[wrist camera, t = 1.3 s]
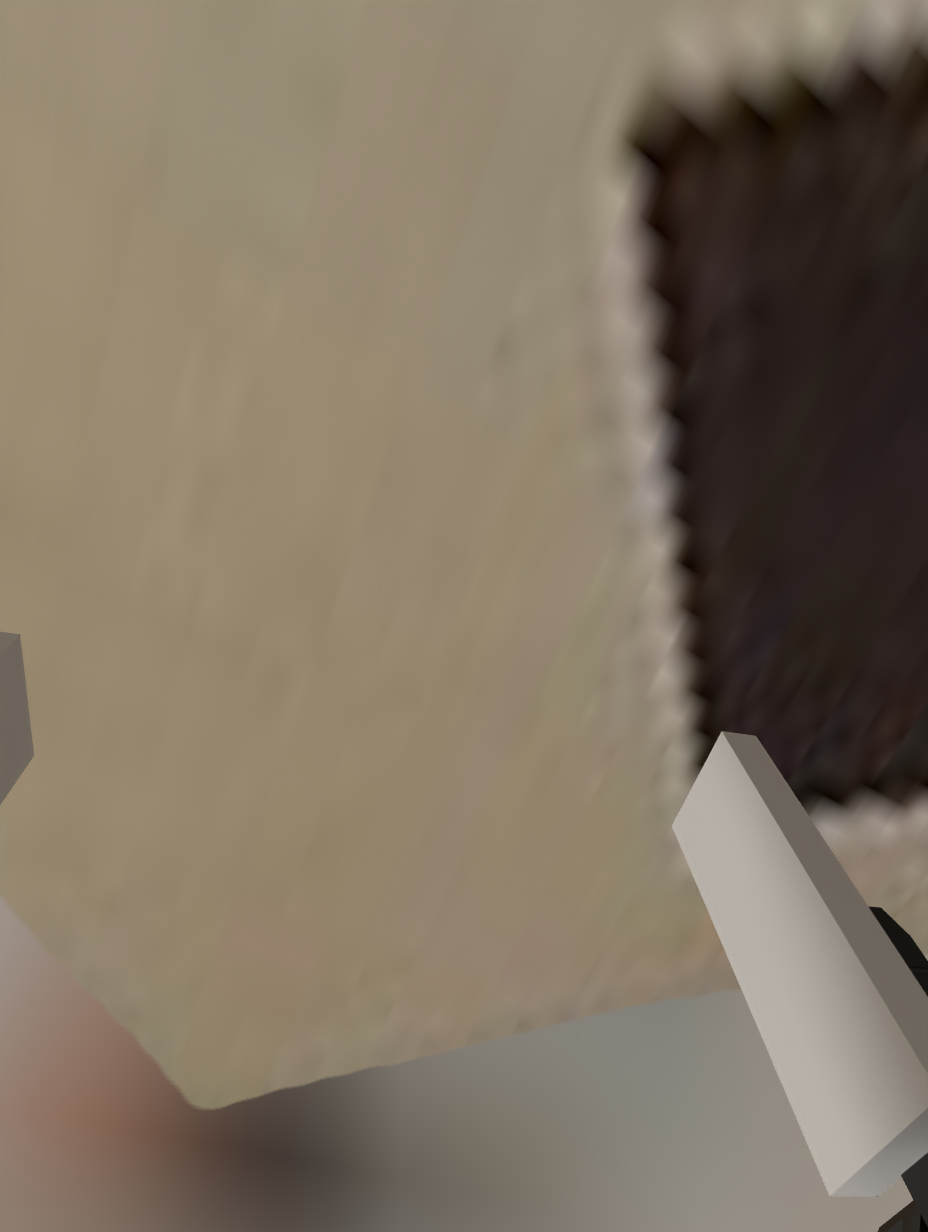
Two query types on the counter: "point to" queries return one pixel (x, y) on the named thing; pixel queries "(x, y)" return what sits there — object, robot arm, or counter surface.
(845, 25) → the counter surface
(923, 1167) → the robot arm
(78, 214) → the counter surface
